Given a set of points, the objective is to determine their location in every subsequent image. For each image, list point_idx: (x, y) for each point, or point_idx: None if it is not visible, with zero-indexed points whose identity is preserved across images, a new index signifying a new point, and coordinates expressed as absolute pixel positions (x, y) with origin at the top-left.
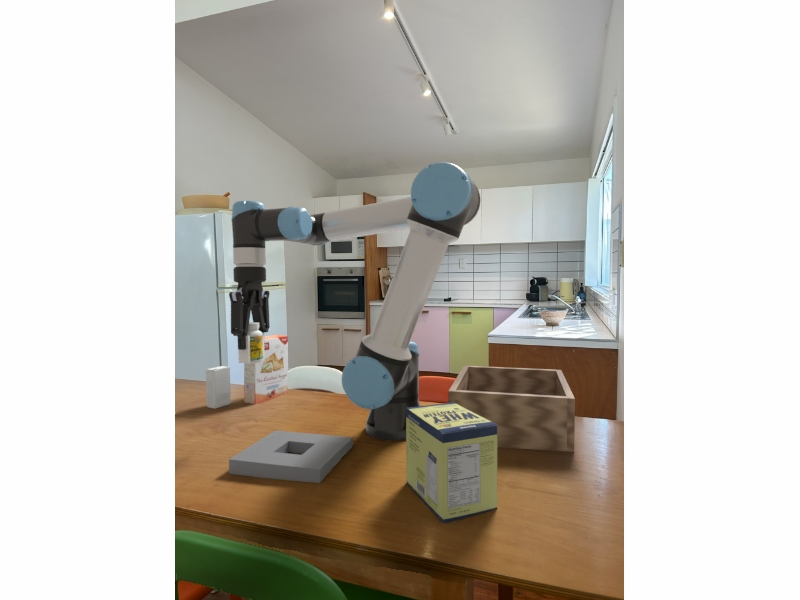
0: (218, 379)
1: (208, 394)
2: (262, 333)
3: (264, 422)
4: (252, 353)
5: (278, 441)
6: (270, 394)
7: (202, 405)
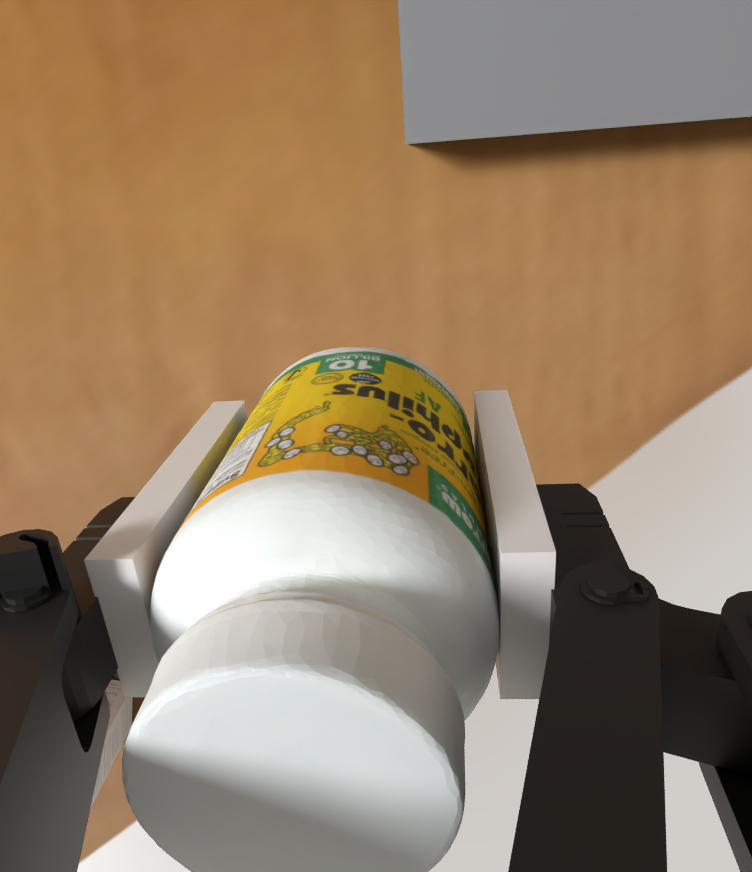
0: None
1: (109, 761)
2: (131, 554)
3: (183, 380)
4: (449, 420)
5: (565, 2)
6: None
7: (122, 749)
